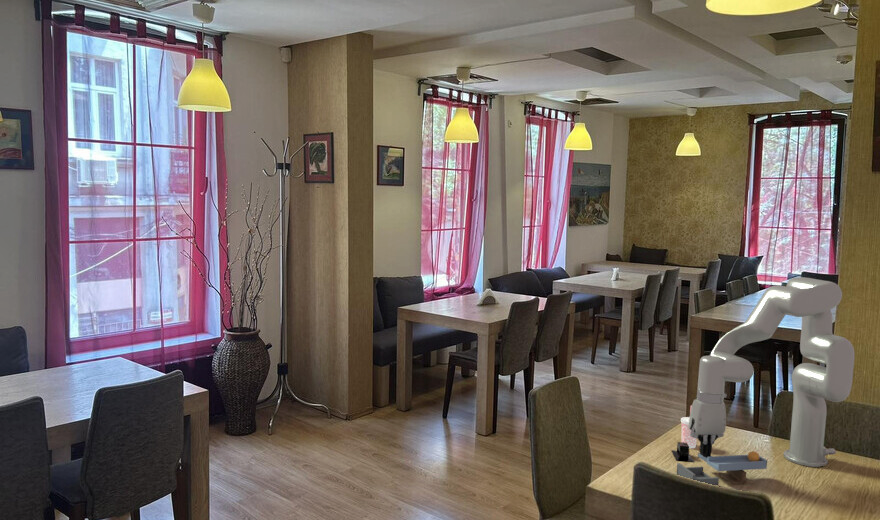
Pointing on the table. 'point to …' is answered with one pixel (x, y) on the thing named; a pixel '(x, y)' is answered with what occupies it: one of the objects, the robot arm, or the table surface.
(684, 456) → the black boxy piece
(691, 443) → the beverage cup
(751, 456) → the ball
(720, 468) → the lever
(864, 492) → the table surface
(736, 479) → the fulcrum
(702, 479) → the tray
